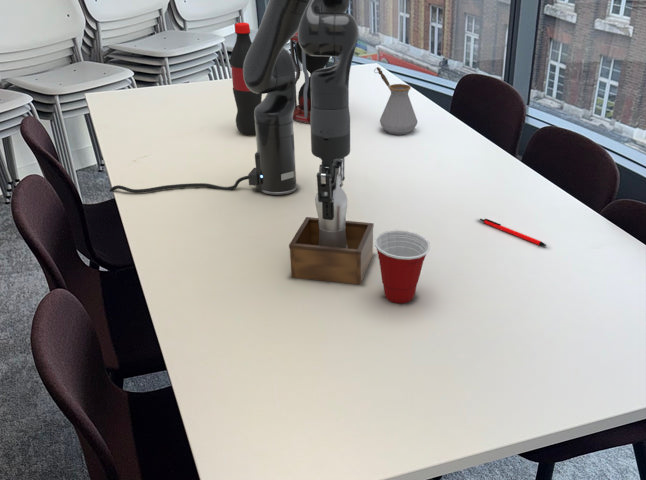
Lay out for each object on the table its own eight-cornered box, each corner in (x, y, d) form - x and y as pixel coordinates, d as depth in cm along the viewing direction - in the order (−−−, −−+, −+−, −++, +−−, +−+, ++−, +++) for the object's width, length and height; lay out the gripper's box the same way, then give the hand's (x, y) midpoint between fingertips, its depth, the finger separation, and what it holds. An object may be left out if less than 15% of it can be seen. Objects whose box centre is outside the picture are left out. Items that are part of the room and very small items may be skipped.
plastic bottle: (345, 274, 158) (344, 181, 146) (313, 270, 159) (310, 178, 147) (352, 260, 163) (351, 170, 151) (321, 257, 164) (319, 166, 152)
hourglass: (281, 119, 238) (276, 33, 222) (303, 105, 250) (300, 22, 235) (328, 126, 234) (327, 38, 218) (348, 112, 246) (348, 27, 230)
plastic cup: (409, 316, 146) (412, 260, 138) (362, 300, 150) (363, 244, 143) (437, 293, 153) (441, 238, 146) (391, 278, 158) (393, 224, 150)
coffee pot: (423, 134, 230) (426, 82, 221) (389, 139, 226) (391, 86, 217) (392, 113, 245) (393, 64, 236) (359, 118, 241) (359, 68, 232)
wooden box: (290, 277, 157) (288, 244, 152) (307, 248, 168) (306, 216, 163) (361, 284, 155) (361, 251, 151) (373, 254, 166) (373, 223, 161)
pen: (481, 220, 181) (481, 216, 181) (547, 247, 171) (548, 242, 170) (479, 221, 181) (479, 217, 180) (545, 248, 170) (546, 243, 170)
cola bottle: (270, 130, 230) (262, 21, 212) (257, 138, 224) (248, 27, 205) (244, 126, 232) (235, 18, 214) (231, 134, 226) (220, 24, 207)
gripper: (320, 115, 150) (322, 196, 160) (301, 139, 139) (305, 225, 149) (357, 118, 149) (357, 199, 159) (341, 143, 138) (342, 228, 148)
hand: (332, 211), depth 154 cm, fingers closed on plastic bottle, 6 cm apart
